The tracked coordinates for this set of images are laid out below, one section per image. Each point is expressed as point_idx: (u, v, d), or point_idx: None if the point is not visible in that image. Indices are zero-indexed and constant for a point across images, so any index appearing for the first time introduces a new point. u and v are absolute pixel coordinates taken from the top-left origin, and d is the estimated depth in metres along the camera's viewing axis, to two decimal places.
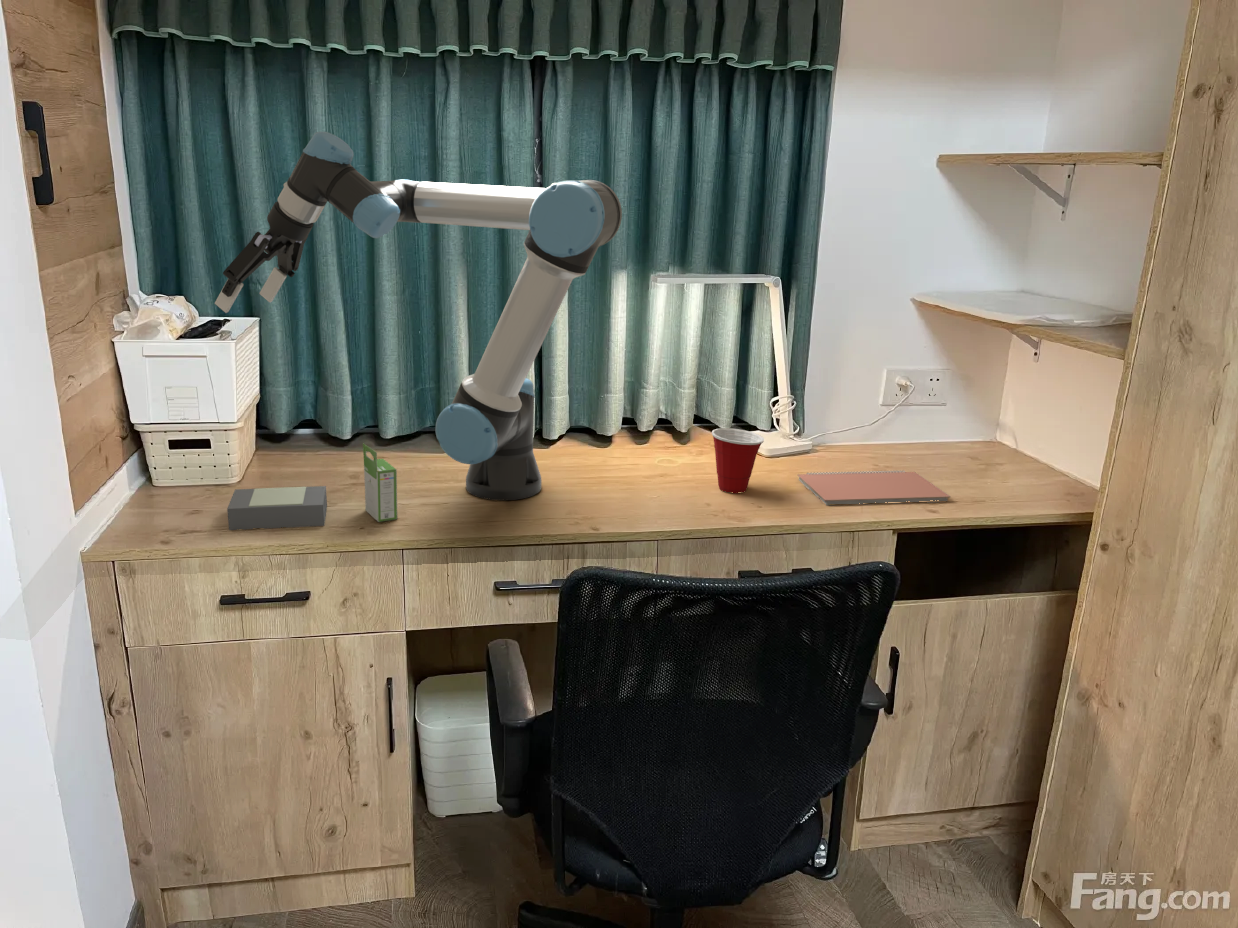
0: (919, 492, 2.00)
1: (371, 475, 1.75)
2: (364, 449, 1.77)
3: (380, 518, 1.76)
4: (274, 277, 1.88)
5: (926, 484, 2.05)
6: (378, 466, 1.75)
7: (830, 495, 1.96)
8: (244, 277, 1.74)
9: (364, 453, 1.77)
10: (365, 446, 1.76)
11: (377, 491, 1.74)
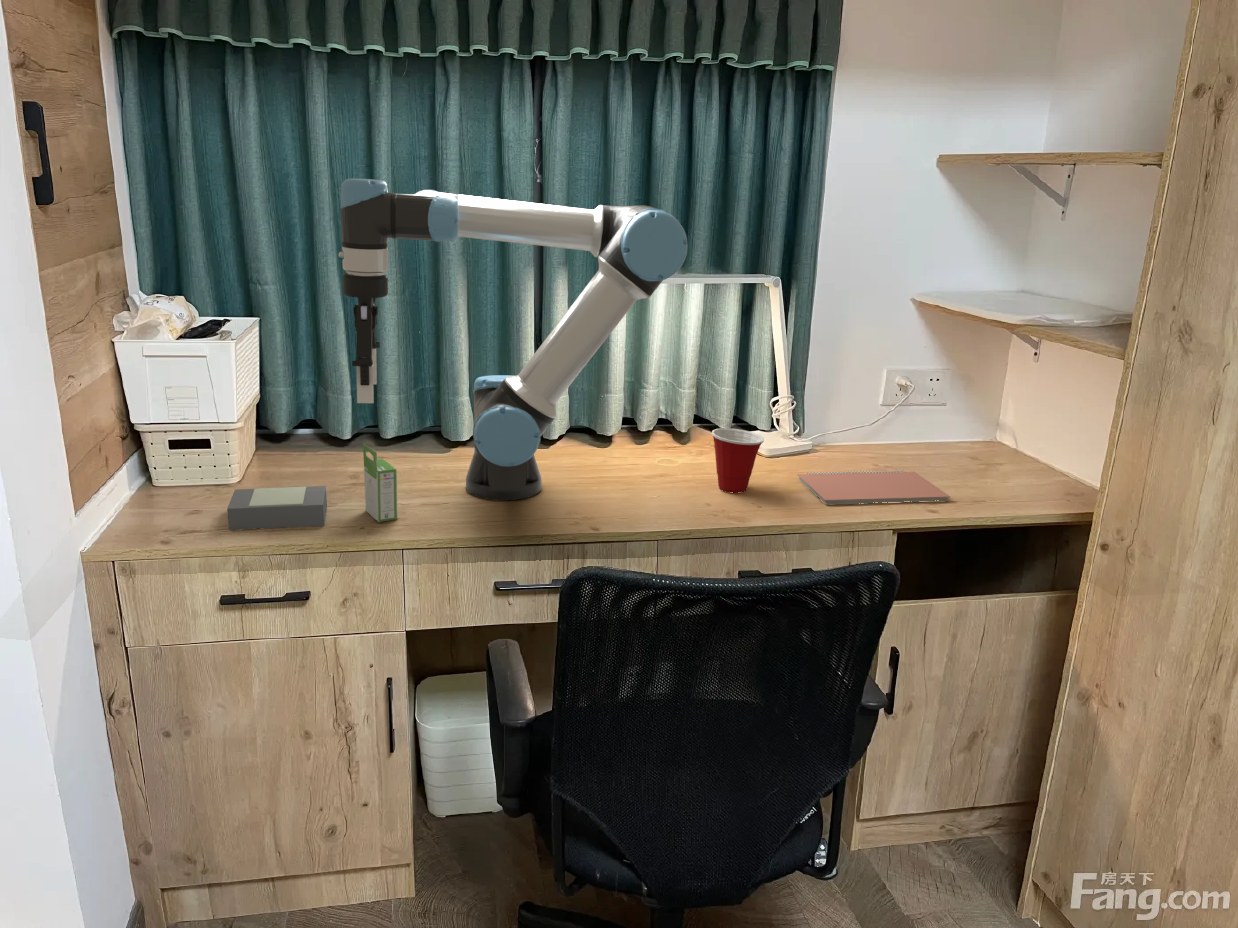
0: (919, 492, 2.00)
1: (371, 475, 1.75)
2: (364, 449, 1.77)
3: (380, 518, 1.76)
4: None
5: (926, 484, 2.05)
6: (378, 466, 1.75)
7: (830, 495, 1.96)
8: None
9: (364, 453, 1.77)
10: (365, 446, 1.76)
11: (377, 491, 1.74)
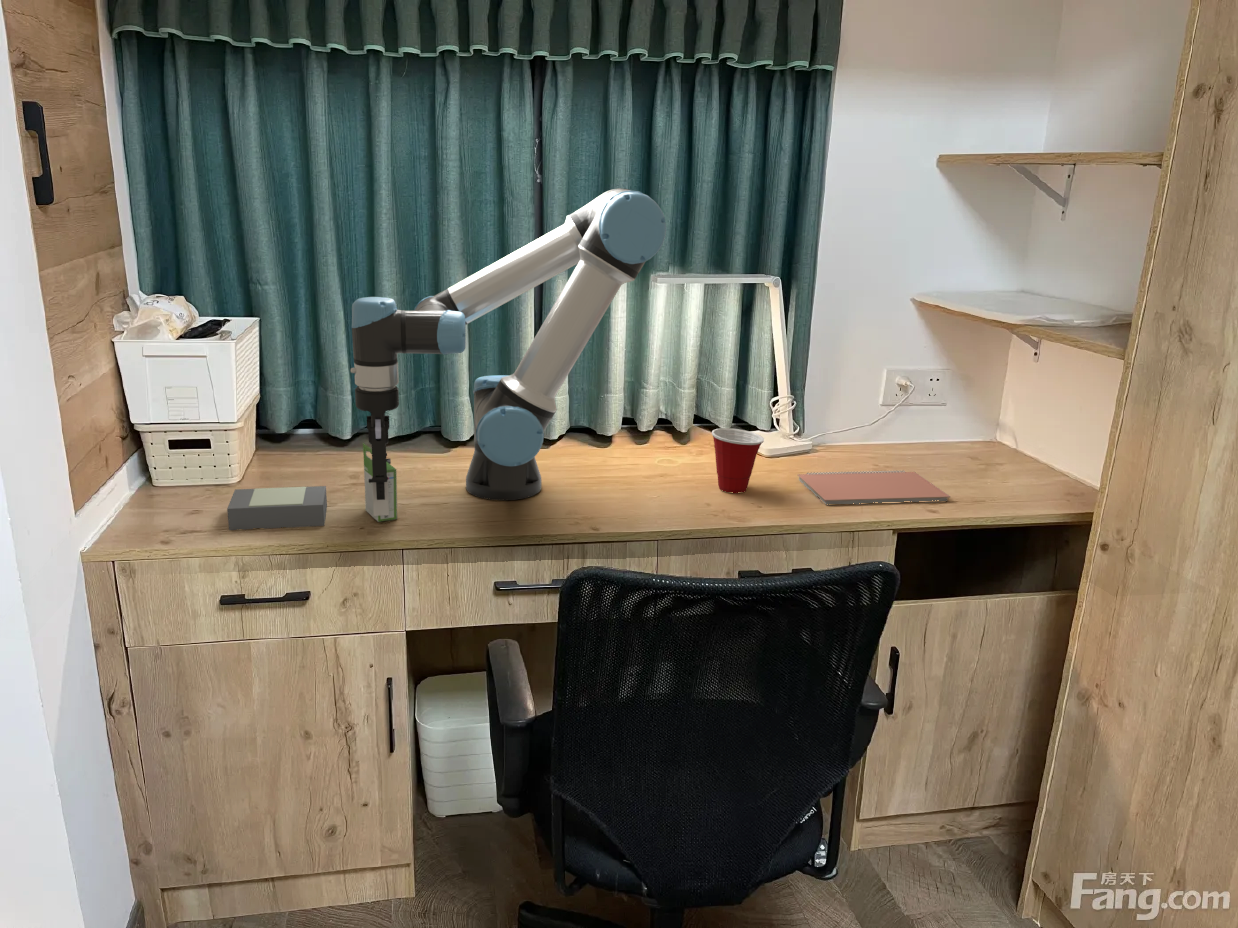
0: (919, 492, 2.00)
1: (371, 474, 1.75)
2: (364, 449, 1.77)
3: (380, 518, 1.76)
4: None
5: (926, 484, 2.05)
6: None
7: (830, 495, 1.96)
8: None
9: (364, 453, 1.77)
10: (365, 446, 1.76)
11: None
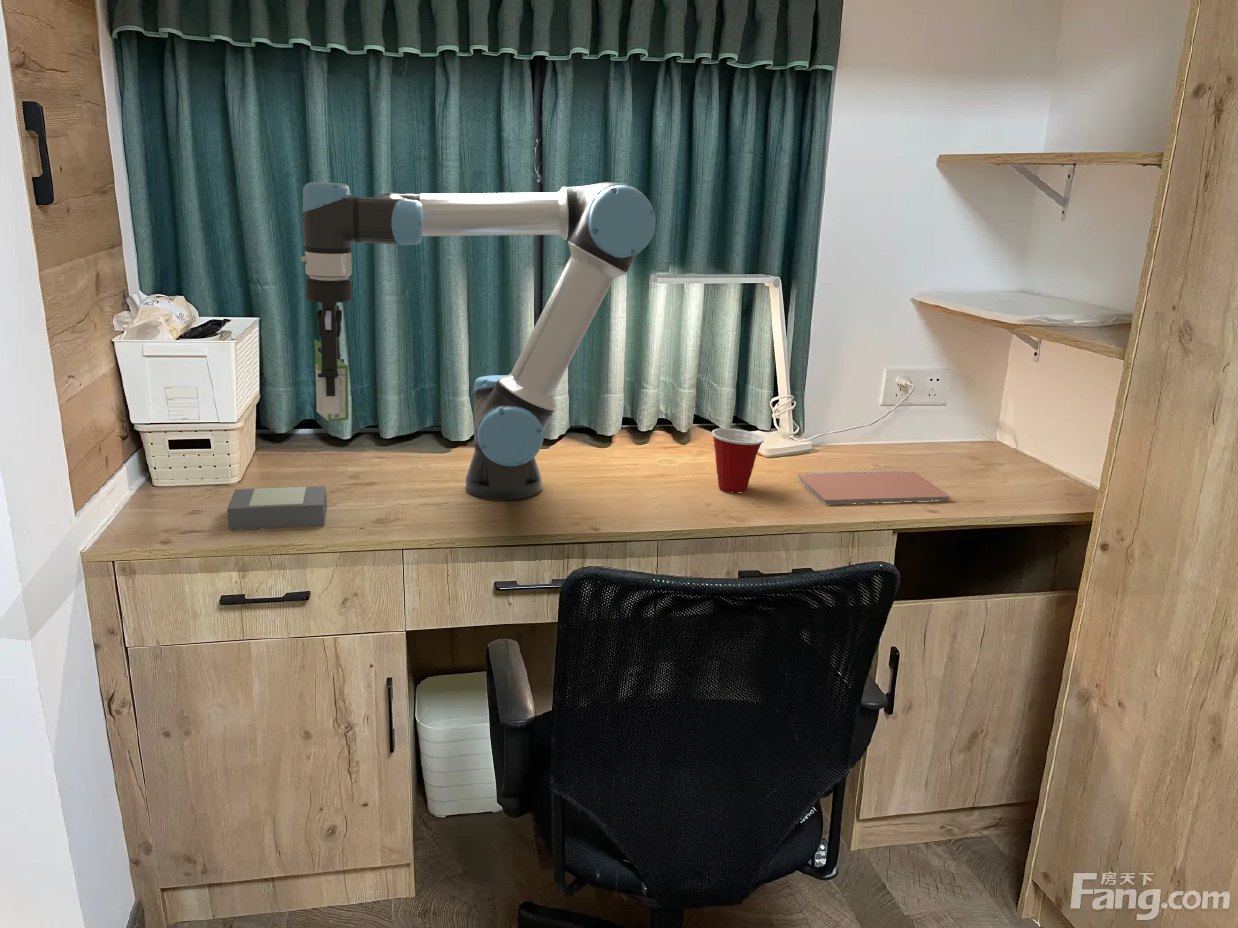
0: (919, 492, 2.00)
1: None
2: (315, 345, 1.69)
3: (330, 417, 1.69)
4: None
5: (926, 484, 2.05)
6: None
7: (830, 495, 1.96)
8: (337, 367, 1.65)
9: (315, 350, 1.70)
10: (316, 342, 1.69)
11: None
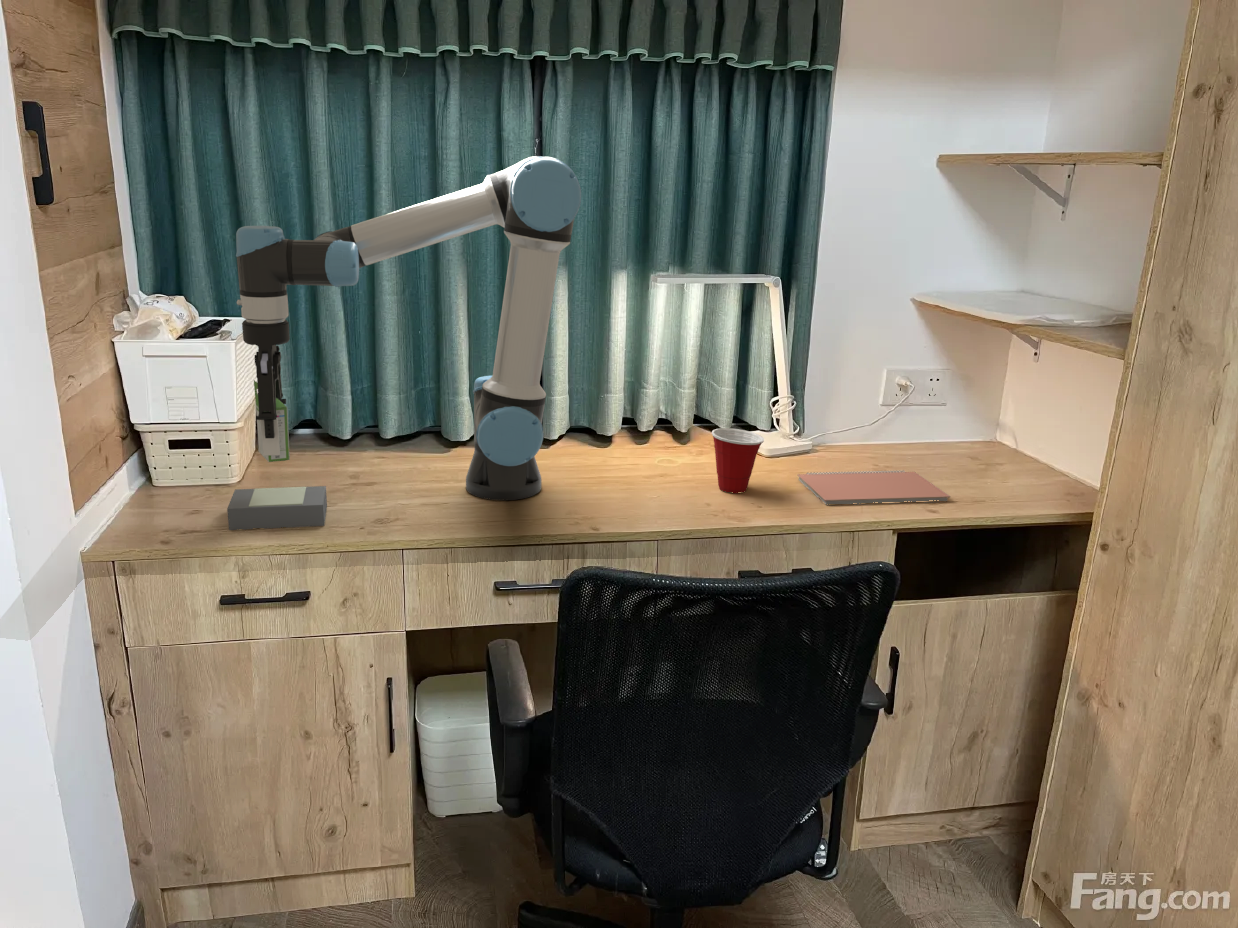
0: (919, 492, 2.00)
1: None
2: (255, 386, 1.70)
3: (270, 458, 1.69)
4: None
5: (926, 484, 2.05)
6: None
7: (830, 495, 1.96)
8: (275, 409, 1.66)
9: (255, 391, 1.70)
10: (255, 383, 1.69)
11: None
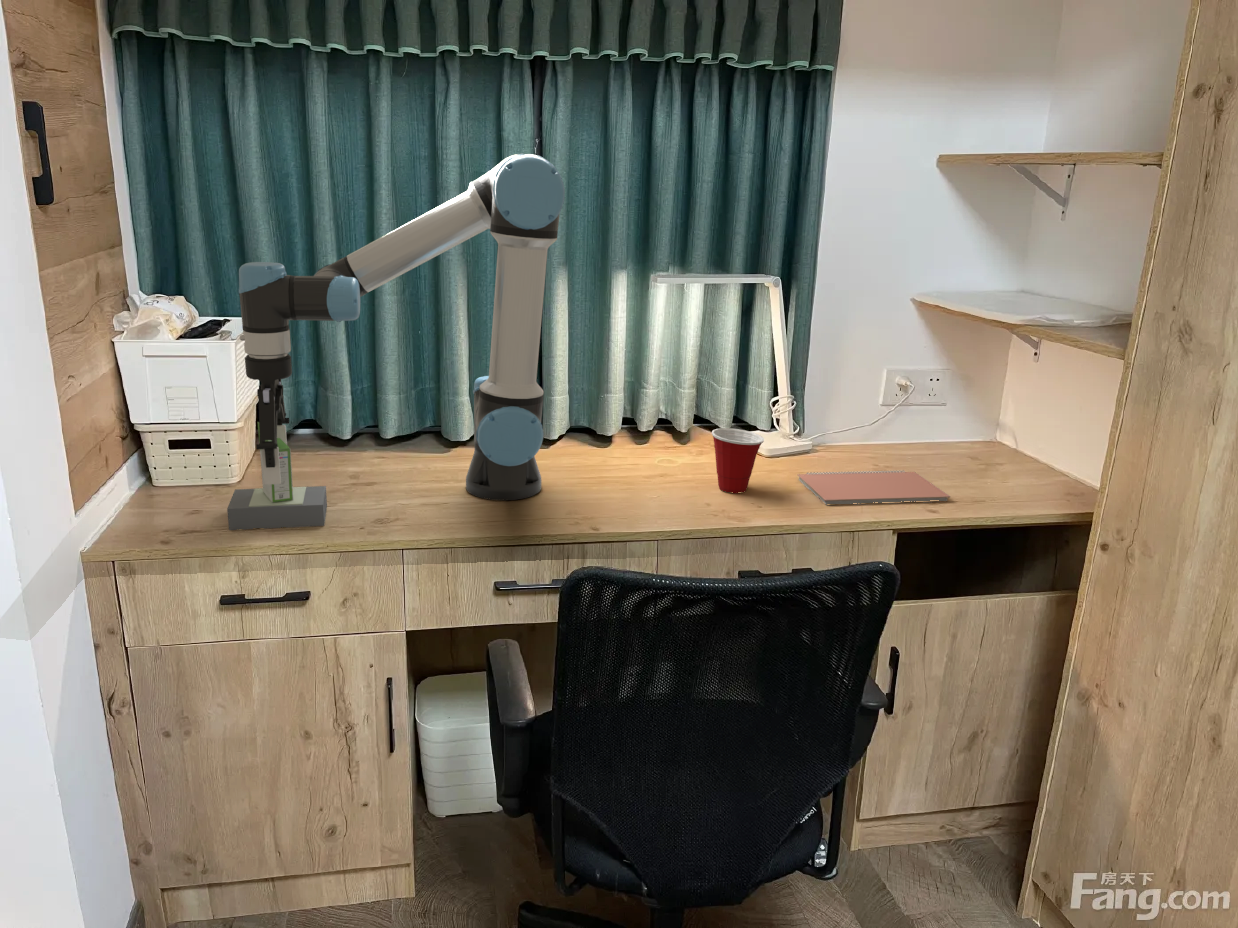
0: (919, 492, 2.00)
1: None
2: (258, 428, 1.72)
3: (274, 498, 1.71)
4: (276, 434, 1.78)
5: (926, 484, 2.05)
6: None
7: (830, 495, 1.96)
8: (276, 438, 1.65)
9: None
10: None
11: None
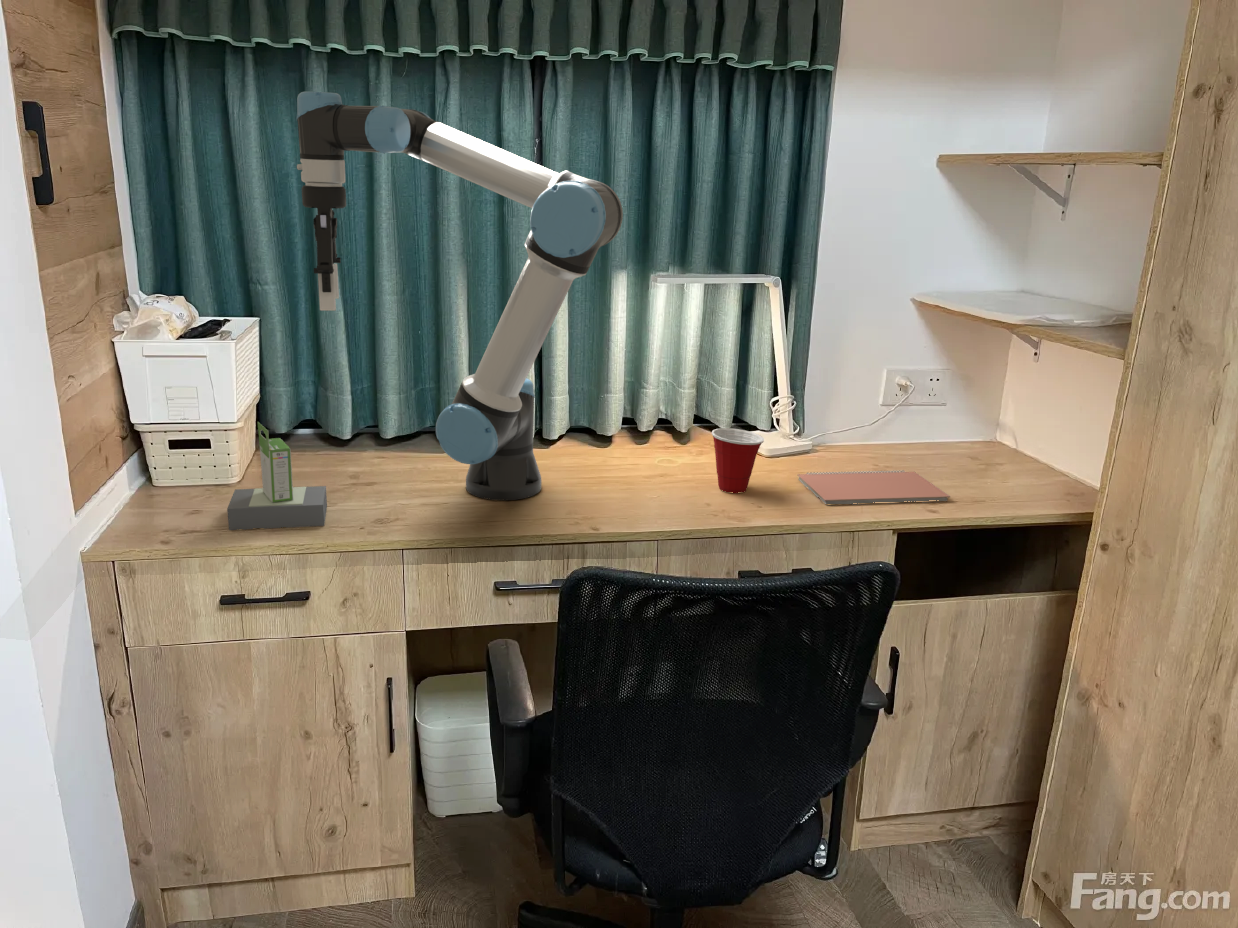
0: (919, 492, 2.00)
1: (265, 454, 1.71)
2: (258, 428, 1.72)
3: (274, 498, 1.71)
4: None
5: (926, 484, 2.05)
6: (272, 445, 1.71)
7: (830, 495, 1.96)
8: (332, 264, 1.70)
9: (259, 432, 1.73)
10: (259, 425, 1.72)
11: (270, 471, 1.70)
